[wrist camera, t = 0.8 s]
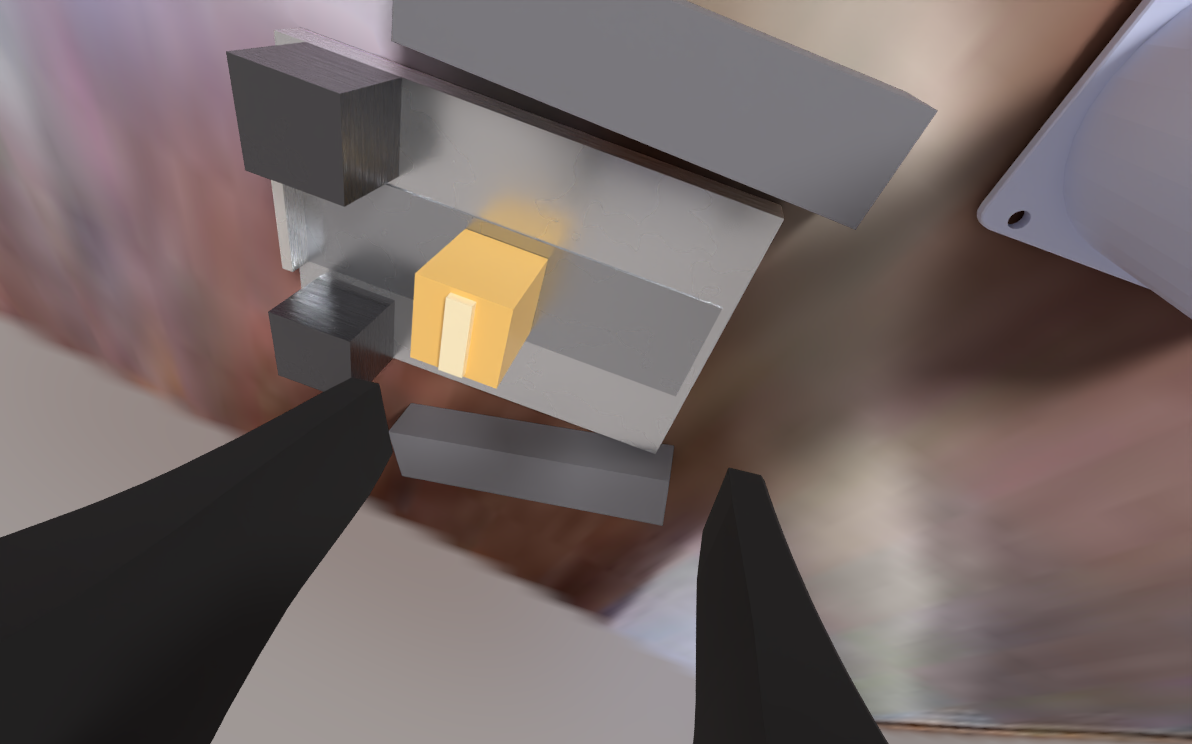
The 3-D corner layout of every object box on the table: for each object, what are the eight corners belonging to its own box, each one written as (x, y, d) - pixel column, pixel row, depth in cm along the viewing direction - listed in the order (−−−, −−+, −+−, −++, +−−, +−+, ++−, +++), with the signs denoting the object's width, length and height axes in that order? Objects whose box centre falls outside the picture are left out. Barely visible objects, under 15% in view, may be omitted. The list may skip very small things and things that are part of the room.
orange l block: (548, 259, 17) (509, 314, 14) (530, 332, 19) (493, 394, 16) (465, 228, 17) (409, 278, 14) (456, 304, 19) (405, 362, 16)
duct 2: (675, 440, 23) (669, 481, 21) (668, 484, 25) (662, 525, 23) (414, 398, 25) (388, 431, 24) (426, 441, 27) (402, 475, 25)
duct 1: (903, 90, 14) (937, 111, 11) (837, 193, 16) (855, 229, 13) (456, -96, 14) (398, -113, 11) (443, 32, 15) (391, 40, 13)
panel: (781, 205, 16) (793, 261, 13) (658, 435, 23) (645, 509, 20) (300, 27, 16) (187, 37, 13) (323, 311, 23) (253, 365, 19)
